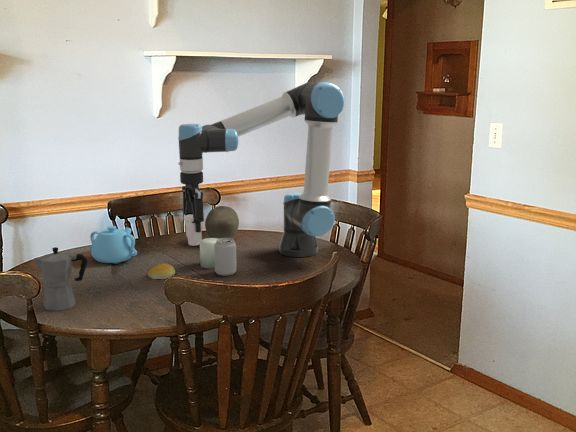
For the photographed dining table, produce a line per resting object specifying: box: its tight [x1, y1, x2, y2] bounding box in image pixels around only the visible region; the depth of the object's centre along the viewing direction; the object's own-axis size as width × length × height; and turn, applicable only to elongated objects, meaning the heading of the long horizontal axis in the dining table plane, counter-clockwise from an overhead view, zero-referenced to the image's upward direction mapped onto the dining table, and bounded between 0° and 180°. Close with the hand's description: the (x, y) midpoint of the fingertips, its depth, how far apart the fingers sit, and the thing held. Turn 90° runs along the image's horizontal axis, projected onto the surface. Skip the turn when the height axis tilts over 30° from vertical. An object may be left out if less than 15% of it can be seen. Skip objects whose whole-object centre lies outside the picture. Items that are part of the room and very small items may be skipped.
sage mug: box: [199, 237, 218, 269], centre depth 226 cm, size 10×8×9 cm
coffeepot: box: [32, 247, 89, 312], centre depth 186 cm, size 15×9×18 cm, turn 101°
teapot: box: [89, 225, 138, 265], centre depth 233 cm, size 20×20×13 cm
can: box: [214, 238, 237, 277], centre depth 217 cm, size 8×8×12 cm
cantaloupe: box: [204, 205, 240, 239], centre depth 254 cm, size 14×14×15 cm
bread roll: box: [147, 262, 176, 280], centre depth 214 cm, size 8×9×4 cm
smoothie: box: [183, 214, 203, 247], centre depth 212 cm, size 6×6×14 cm
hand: (193, 238), depth 213 cm, fingers closed on smoothie, 6 cm apart
